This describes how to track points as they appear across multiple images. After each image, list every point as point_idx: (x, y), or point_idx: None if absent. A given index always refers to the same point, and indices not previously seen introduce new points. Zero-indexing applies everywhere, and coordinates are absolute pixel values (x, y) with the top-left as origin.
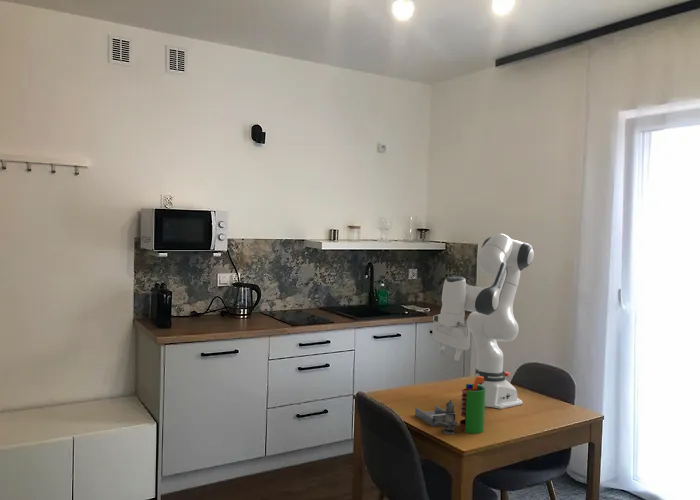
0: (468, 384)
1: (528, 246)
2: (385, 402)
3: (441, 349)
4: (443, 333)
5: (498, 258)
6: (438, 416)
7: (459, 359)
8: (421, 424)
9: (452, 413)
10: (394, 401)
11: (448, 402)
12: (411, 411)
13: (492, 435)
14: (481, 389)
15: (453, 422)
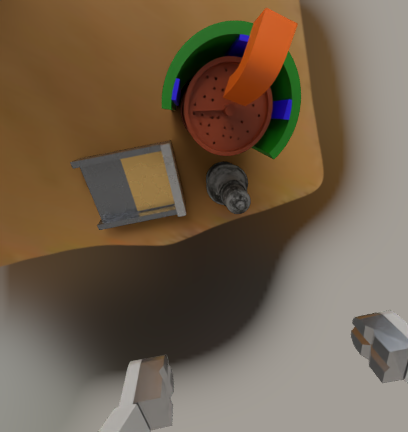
0: (174, 99)
1: None
2: (6, 263)
3: (146, 427)
4: None
5: None
6: (182, 198)
7: (395, 313)
8: (170, 224)
9: (246, 191)
10: None
11: (238, 210)
12: (73, 221)
13: None
14: (224, 39)
15: (241, 180)
